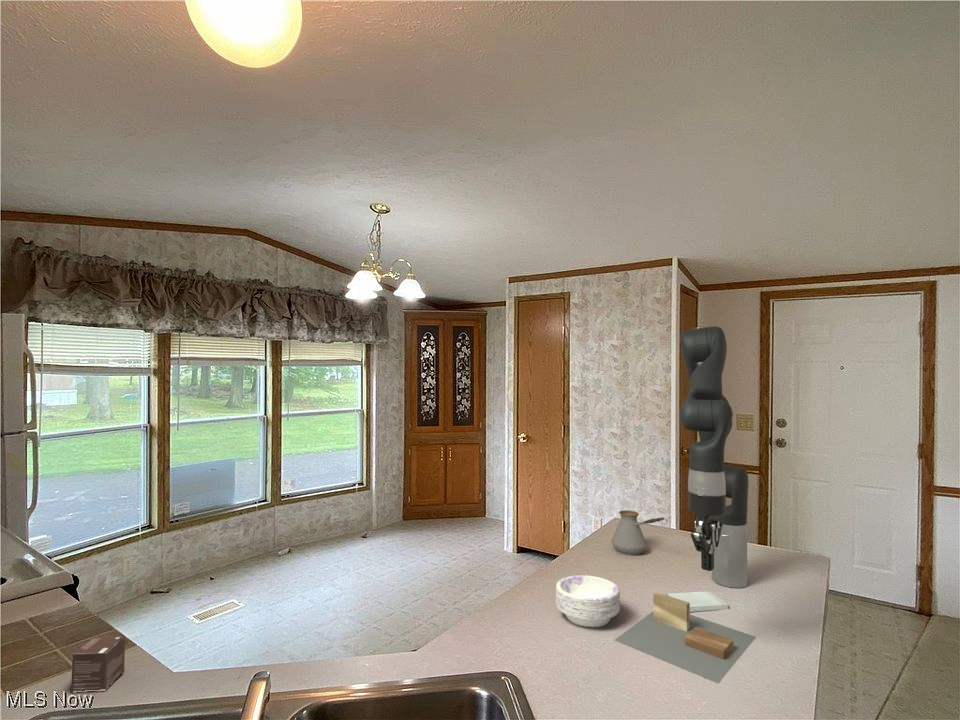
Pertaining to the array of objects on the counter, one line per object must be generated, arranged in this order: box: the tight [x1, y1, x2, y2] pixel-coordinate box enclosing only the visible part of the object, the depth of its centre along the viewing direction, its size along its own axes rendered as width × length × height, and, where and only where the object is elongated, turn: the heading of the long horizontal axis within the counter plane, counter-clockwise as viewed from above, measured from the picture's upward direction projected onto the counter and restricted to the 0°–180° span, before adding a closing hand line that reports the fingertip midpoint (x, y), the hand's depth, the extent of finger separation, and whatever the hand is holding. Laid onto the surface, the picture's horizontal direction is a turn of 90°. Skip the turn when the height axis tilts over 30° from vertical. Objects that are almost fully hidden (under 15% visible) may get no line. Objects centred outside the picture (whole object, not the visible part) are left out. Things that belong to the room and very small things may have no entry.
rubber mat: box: [614, 611, 757, 684], centre depth 111 cm, size 24×22×1 cm
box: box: [70, 635, 126, 693], centre depth 95 cm, size 6×6×7 cm
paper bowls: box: [555, 574, 621, 628], centre depth 121 cm, size 15×15×8 cm
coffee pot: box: [610, 509, 668, 556], centre depth 164 cm, size 21×12×15 cm, turn 27°
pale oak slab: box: [652, 591, 691, 632], centre depth 118 cm, size 2×8×6 cm, turn 45°
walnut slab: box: [685, 627, 733, 660], centre depth 108 cm, size 2×8×6 cm
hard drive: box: [665, 591, 729, 613], centre depth 128 cm, size 2×8×12 cm
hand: (707, 569), depth 109 cm, fingers closed
